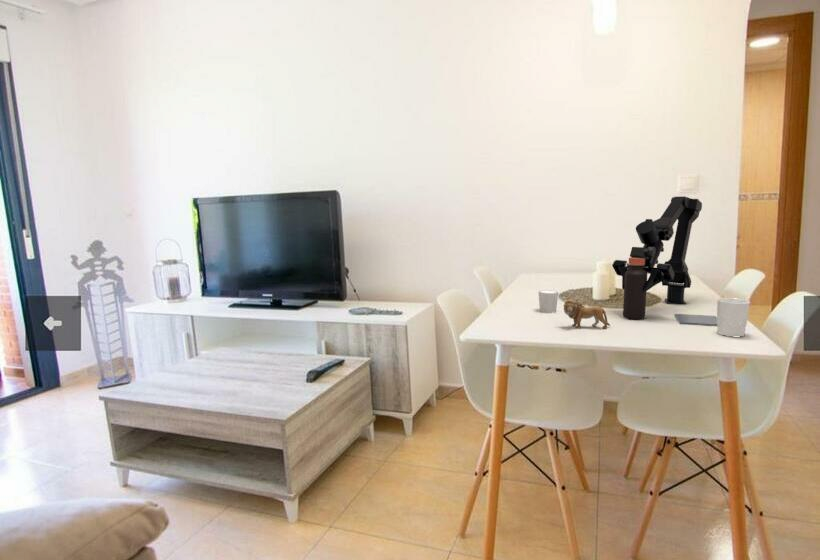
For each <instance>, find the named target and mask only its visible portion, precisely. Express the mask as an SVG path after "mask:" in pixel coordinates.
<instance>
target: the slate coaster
mask: <svg viewBox="0 0 820 560" xmlns="http://www.w3.org/2000/svg"><path fill="white" fill-rule="evenodd" d="M674 317H675V318H676V320H677V322H678V323H679V324H680V325H689V326H690V325H691V326H692V325H693V326H706V327H707V326H709V327H717V325H718V324H717V315H704V314H703V315H702V314H687V313H684V314H683V313H674Z"/></svg>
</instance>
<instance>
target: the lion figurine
mask: <svg viewBox="0 0 820 560" xmlns="http://www.w3.org/2000/svg"><path fill="white" fill-rule="evenodd" d="M563 312H564V314H566V315H567V316H568V317H569V319H572V320H573V324H572V325H571V326H572V327H574V328H575V329H576V330H577V329H578V330H579V329H580V328H581V322H582V320H583V319H584V320H585V319H586V320H587V319H591V318H594V321H595V322H594V323H592V324H591V326H592V327H596V326H598V324H599V323H600V322H601V323H603V326H602V329H604V330H606V329H608V326H611V324H610V323H609V321H608V316H607V313H606V310H605V309H604V308H602V307H601V306H597V305H595V306H590V307H589V306H588V307H587V306H584V305H583V304H582V303H580V302H577V301H576V300H574V299H567V300H565V301H564V304H563Z"/></svg>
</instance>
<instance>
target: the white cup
mask: <svg viewBox="0 0 820 560" xmlns="http://www.w3.org/2000/svg"><path fill="white" fill-rule="evenodd" d="M716 302H717V303H716V304H717V305H716V309H717V310H716V317H717V324H718V325H717V326H716V328H717V329H716V333H717V334H718V335H720V334H721V336H723V335H726V336H725V337H728V336H743V337H745V335H744V334H746V328H747V323H748V319H749V312H750V304H751V301H749V300H748V299H747V300H746V299H743V298H734V297H721V298H717V301H716Z"/></svg>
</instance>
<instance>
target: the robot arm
mask: <svg viewBox="0 0 820 560" xmlns="http://www.w3.org/2000/svg"><path fill="white" fill-rule="evenodd" d="M702 208H703V203H702V201H700V200H699V199H698V198H690V197H687V196H682V195H681V196H672V197H671V200H670V203H669V204H668V206H666V208H665V210H664V212H663V213H662V215H661V217H659V218H657V219H655V220H654V219H652V218H646V219H645V221H642V222H640V223H638V224H637V225H636V226H635V232H636V234H637V236H638V239H639V241H640V243H641V244H642V245H643V246H642V247H640V246H632V247H631V250H630V254H629V258H630V257H637V258H645V265H644V270H645V271H646V272H647V274H648V275H649V277H647V282H646V284H645V287H644V290H643V291H644V292H646V293H647V291H649V290H650V289H652V288H653V287H655V286H656V285H658V284H660V283H661V284H662V286H665V287H666V288H667V289H666V290H667V292H666V298H664V302H665V303H666V304H677V305H678V304H679V305H680V304H681V305H686V304H687V301H686V300H685V289H688V288H691V285H692V279H691V277H690V274H689V267H688V265H687V263H686V257H687V251H688V246H689V241H690V238H691V237H690V236H691V231H692V227H693V223H694V222H695V221H696V220H697V219H698V218H699V216H700V212H701V211H702ZM676 222H677V225H676V230H675V232H674V225H675V223H676ZM674 233H675V236H674V240H673V246H672V250H671V255H670V259H668V261H666V260H665V262H664V263H659V259H658V258H659V257H660V255H661V253H664V251H665V250H664V249H665V248H664V242H663V241H665V242H666V241H667V242H668V241H670V240H671V238H672V237H673V235H674ZM655 266H656V267H655ZM612 268H613V270H614V272H615V274H616V275H617V276H619V277H620V276H621V288H622V290H624V282H625V272H626V271H627V270H628V269H629V262H628V260H620V259H615V260H614V261H613V263H612Z"/></svg>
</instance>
